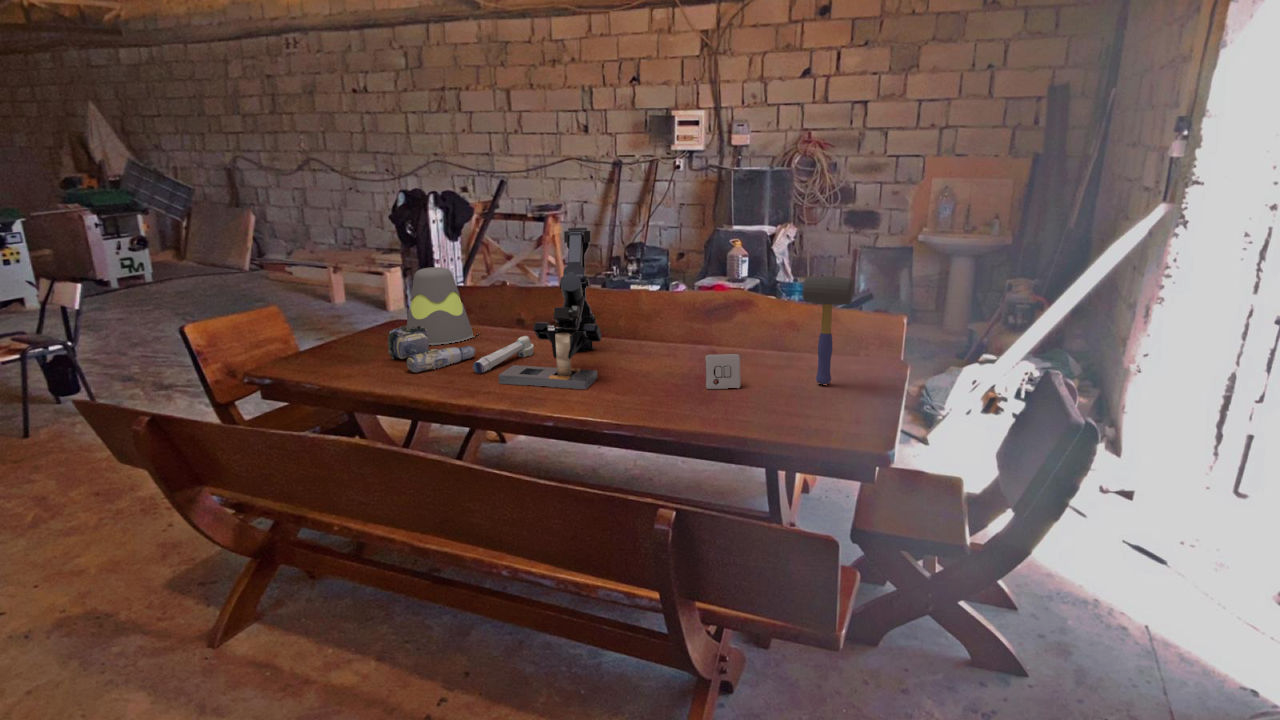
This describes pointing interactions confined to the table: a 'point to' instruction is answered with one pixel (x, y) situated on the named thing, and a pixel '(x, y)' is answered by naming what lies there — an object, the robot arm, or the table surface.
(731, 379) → the electrical switch
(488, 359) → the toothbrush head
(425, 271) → the grey tapered bucket
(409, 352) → the power drill
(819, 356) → the rubber mallet
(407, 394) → the table surface
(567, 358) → the birch peg
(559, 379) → the grey peg hole board
